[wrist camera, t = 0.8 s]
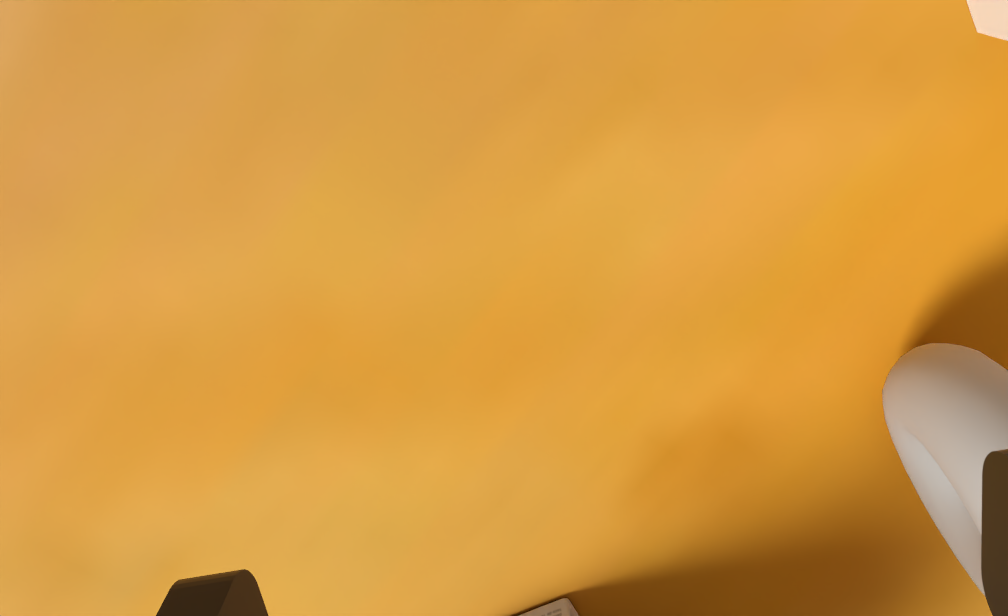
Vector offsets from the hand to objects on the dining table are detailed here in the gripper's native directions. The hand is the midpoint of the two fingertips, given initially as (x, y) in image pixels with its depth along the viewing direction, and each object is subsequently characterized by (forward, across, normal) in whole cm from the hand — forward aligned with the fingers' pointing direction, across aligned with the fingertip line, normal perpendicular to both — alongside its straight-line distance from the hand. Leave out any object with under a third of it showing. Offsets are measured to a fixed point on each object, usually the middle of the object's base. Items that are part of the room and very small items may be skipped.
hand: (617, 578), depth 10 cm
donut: (+22, -13, +11) cm, 27 cm away
